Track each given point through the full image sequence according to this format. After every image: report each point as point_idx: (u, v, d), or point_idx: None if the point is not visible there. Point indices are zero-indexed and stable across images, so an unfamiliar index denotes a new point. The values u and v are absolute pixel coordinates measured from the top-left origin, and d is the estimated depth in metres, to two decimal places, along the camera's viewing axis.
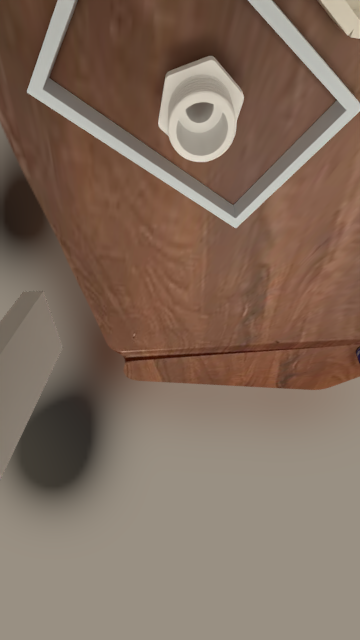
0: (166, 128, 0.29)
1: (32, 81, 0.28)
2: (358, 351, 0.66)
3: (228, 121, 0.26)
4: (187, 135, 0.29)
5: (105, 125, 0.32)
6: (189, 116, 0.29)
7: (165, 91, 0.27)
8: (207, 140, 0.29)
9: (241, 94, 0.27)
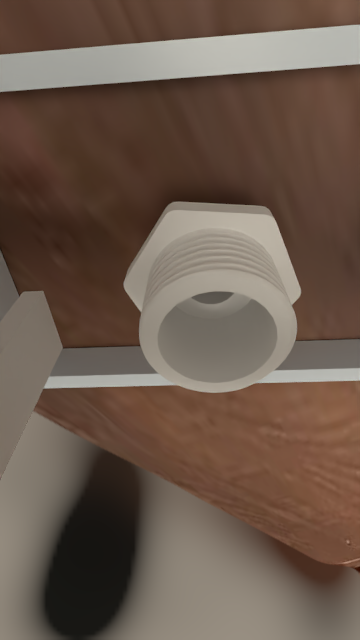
0: None
1: None
2: None
3: (256, 298, 0.10)
4: (217, 333, 0.15)
5: (122, 362, 0.21)
6: (207, 298, 0.15)
7: (137, 302, 0.14)
8: (254, 324, 0.14)
9: (264, 217, 0.12)
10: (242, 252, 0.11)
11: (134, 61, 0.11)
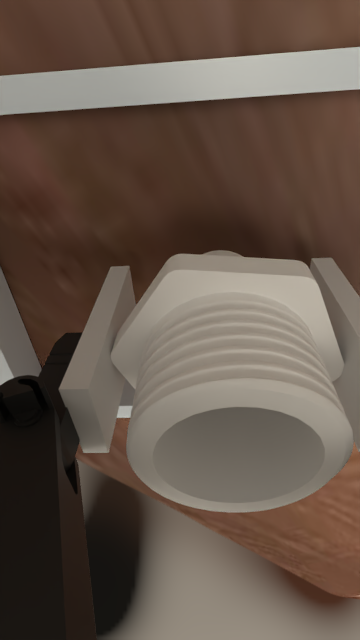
0: None
1: None
2: None
3: (299, 415, 0.07)
4: (232, 415, 0.11)
5: (128, 392, 0.20)
6: None
7: (129, 376, 0.11)
8: None
9: (302, 279, 0.09)
10: (275, 338, 0.08)
11: (149, 83, 0.10)
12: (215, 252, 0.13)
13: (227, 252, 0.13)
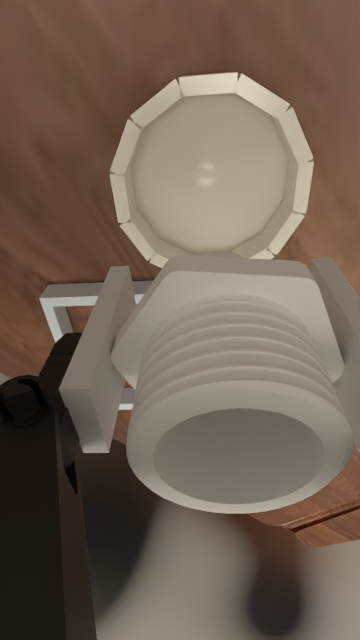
0: None
1: None
2: None
3: (299, 417, 0.07)
4: (232, 416, 0.11)
5: None
6: None
7: (129, 377, 0.11)
8: None
9: (302, 280, 0.09)
10: (275, 339, 0.08)
11: (141, 298, 0.32)
12: (215, 252, 0.13)
13: (227, 253, 0.13)
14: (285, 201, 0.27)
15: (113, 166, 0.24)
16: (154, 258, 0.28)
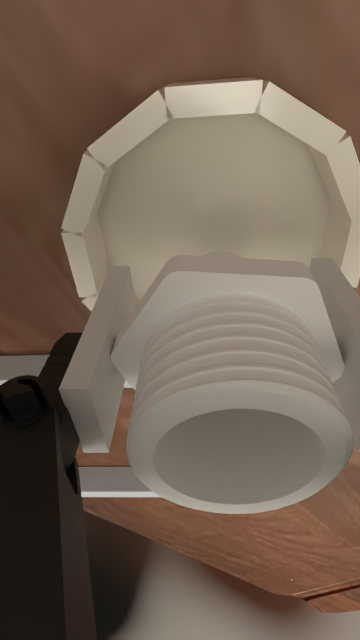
0: None
1: None
2: None
3: (299, 417, 0.07)
4: (232, 416, 0.11)
5: (116, 481, 0.33)
6: None
7: (129, 378, 0.11)
8: None
9: (302, 280, 0.09)
10: (275, 340, 0.08)
11: None
12: (215, 253, 0.13)
13: (227, 253, 0.13)
14: None
15: (66, 222, 0.16)
16: None
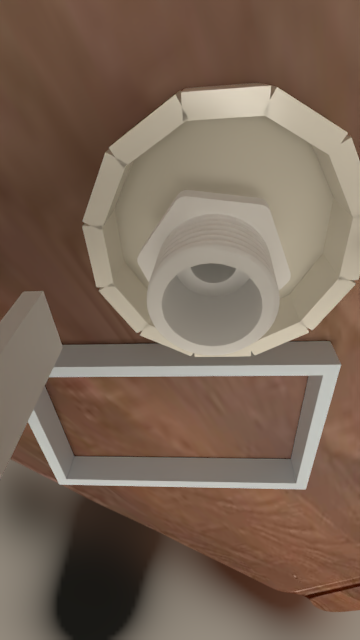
0: None
1: (57, 478, 0.34)
2: None
3: (245, 271, 0.12)
4: (215, 308, 0.17)
5: (124, 470, 0.34)
6: (209, 278, 0.18)
7: (148, 275, 0.17)
8: (247, 300, 0.16)
9: (260, 206, 0.14)
10: (237, 234, 0.13)
11: (131, 371, 0.25)
12: None
13: None
14: (325, 257, 0.20)
15: (87, 215, 0.17)
16: (146, 330, 0.21)
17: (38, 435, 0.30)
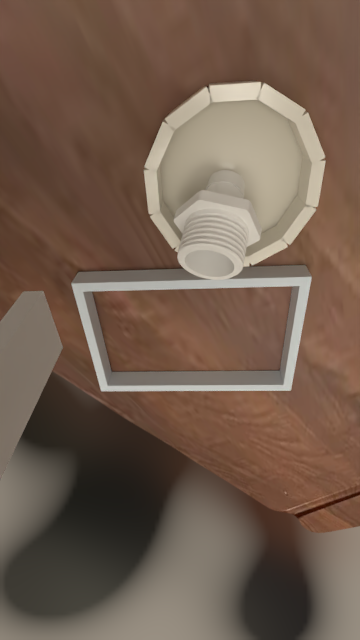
0: None
1: (100, 385, 0.44)
2: None
3: (225, 255, 0.25)
4: None
5: (152, 379, 0.44)
6: None
7: (179, 227, 0.29)
8: None
9: (243, 209, 0.25)
10: (226, 231, 0.25)
11: (164, 284, 0.35)
12: (225, 171, 0.28)
13: (231, 172, 0.28)
14: (298, 196, 0.30)
15: (147, 163, 0.27)
16: None
17: (90, 343, 0.40)
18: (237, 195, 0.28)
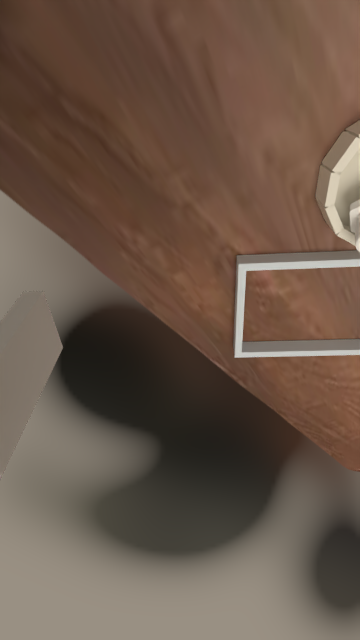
0: None
1: (236, 352, 0.53)
2: None
3: None
4: None
5: (277, 347, 0.53)
6: None
7: (351, 217, 0.37)
8: None
9: None
10: None
11: (315, 264, 0.43)
12: None
13: None
14: None
15: (335, 167, 0.36)
16: (341, 232, 0.40)
17: (238, 315, 0.49)
18: None
